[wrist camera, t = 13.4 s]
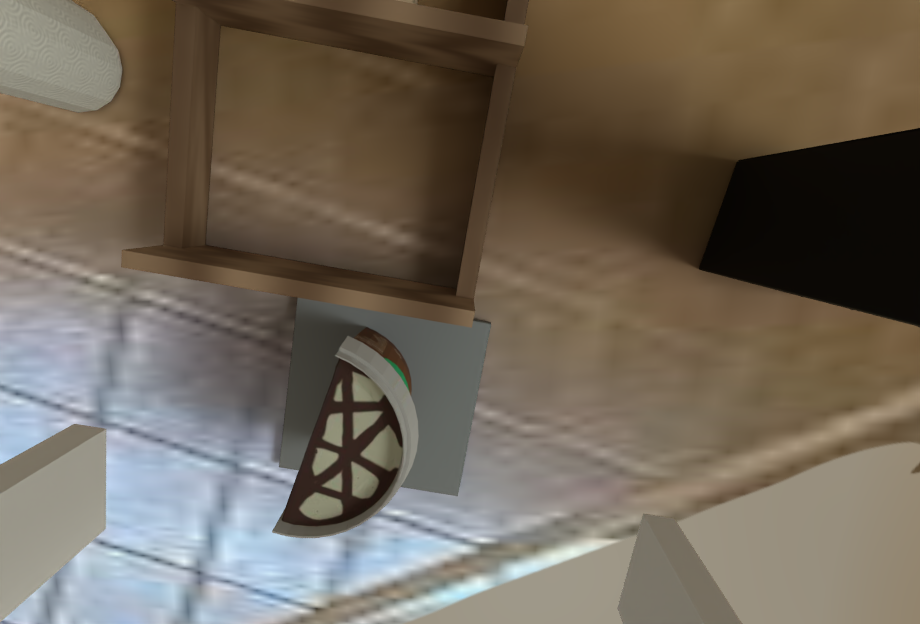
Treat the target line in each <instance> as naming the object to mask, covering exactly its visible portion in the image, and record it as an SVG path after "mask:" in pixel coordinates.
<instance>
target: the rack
mask: <svg viewBox="0 0 920 624" xmlns="http://www.w3.org/2000/svg"><path fill="white" fill-rule="evenodd" d="M172 1H174V2H175V3H176V14H175V33H174V53H173V72H172V91H171V110H170V129H169V149H168V168H167V187H166V206H165V225H164V245H160V246H152V247H143V248H135V249H126V250H122V263H121V267H123V268H129V269H135V270H141V271H147V272H152V273H158V274H164V275H170V276H175V277H181V278H187V279H193V280H199V281H204V282H210V283H216V284H222V285H228V286H233V287H239V288H245V289H251V290H256V291H262V292H268V293H274V294H280V295H285V296H291V297H297V298H303V299H309V300H314V301H320V302H326V303H332V304H338V305H343V306H349V307H355V308H361V309H366V310H372V311H378V312H384V313H390V314H395V315H401V316H407V317H413V318H419V319H424V320H430V321H436V322H442V323H447V324H453V325H459V326H465V327H471V328H472V325H473V319H474V314H475V307H474V294H475V289H476V283H477V278H478V272H479V267H480V262H481V256H482V251H483V245H484V240H485V235H486V229H487V224H488V218H489V213H490V207H491V202H492V197H493V191H494V186H495V180H496V175H497V170H498V164H499V159H500V153H501V148H502V142H503V137H504V132H505V126H506V121H507V115H508V110H509V105H510V99H511V94H512V88H513V83H514V77H515V72H516V67H517V64H518V62H519V59H520V56H521V54H522V51H523V48H524V45H525V40H526V35H527V29H528V25H524V23H525V18H526V13H527V7H528V2H529V0H507V5H506V11H505V17H504V21H502V20H497V19H491V18H486V17H481V16H476V15H471V14H465V13H460V12H455V11H450V10H444V9H439V8H434V7H429V6H424V5H418V4H413V3H408V2H403V1H398V0H172ZM221 26H226V27H232V28H237V29H242V30H247V31H253V32H258V33H263V34H269V35H274V36H279V37H285V38H290V39H295V40H301V41H306V42H311V43H317V44H322V45H327V46H332V47H338V48H343V49H348V50H354V51H359V52H364V53H370V54H375V55H380V56H386V57H391V58H396V59H401V60H407V61H412V62H417V63H423V64H428V65H433V66H439V67H444V68H449V69H455V70H460V71H465V72H471V73H476V74H481V75H486V76H492V77H494V79H493V85H492V90H491V96H490V102H489V107H488V113H487V119H486V124H485V130H484V136H483V141H482V147H481V153H480V158H479V164H478V170H477V175H476V181H475V187H474V192H473V198H472V204H471V209H470V215H469V221H468V226H467V232H466V238H465V243H464V249H463V254H462V260H461V266H460V271H459V277H458V283H457V288H456V289H454V288H448V287H442V286H437V285H431V284H425V283H419V282H414V281H408V280H402V279H397V278H391V277H385V276H379V275H374V274H368V273H362V272H357V271H351V270H345V269H339V268H334V267H328V266H322V265H317V264H311V263H305V262H299V261H294V260H288V259H282V258H277V257H271V256H265V255H259V254H254V253H248V252H242V251H237V250H231V249H225V248H219V247H214V246H208V245H205V243H206V229H207V214H208V200H209V185H210V171H211V157H212V142H213V128H214V113H215V99H216V85H217V70H218V56H219V41H220V27H221Z"/></svg>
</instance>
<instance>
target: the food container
mask: <svg viewBox="0 0 920 624" xmlns="http://www.w3.org/2000/svg"><path fill="white" fill-rule="evenodd" d="M335 356H336V357H338V358H339V360H338V363H337V365H336V367H335V372H334V375H333V378H332V381H331V383H330V386H329V389H328V392H327V394H326V397H325V400H324V402H323V405H322V408H321V411H320V414H319V416H318V419H317V422H316V424H315V427H314V430H313V432H312V435H311V437H310V440H309V443H308V446H307V449H306V452H305V455H304V457H303V460H302V463H301V466H300V469H299V472H298V474H297V477H296V480H295V483H294V485H293V488H292V491H291V494H290V497H289V499H288V502H287V505H286V508H285V510H284V512H283V513H282V515H281V517H280V519H279V520H278V522H277V524H276V526H275V528H274V529H273V531H272V532H273V533H277V534H280V535H284V536H290V537H298V538H320V537H326V536H333V535H336V534H339V533H342V532H346V531H348V530H350V529H352V528H354V527H356V526H359V525H361V524H362V523H363V522H365V521H367V520H368V519H369V518H371V517H372V516H374V515H375V514H377V513H378V512H379V511H380V510H381V509H382V508H383V507H385V506H386V505H387V504H388V503H389V501H390V500H391V499H392V497H393V496H394V495H395V494H396V492H397V491H398V489H399V488H400V487H401V485H402V484H403V482H404V481H405V479H406V477H407V475H408V473H409V471H410V469H411V467H412V465H413V462H414V459H415V455H416V452H417V445H418V437H419V435H418V419H417V415H416V410H415V405H414V403H413V400H412V398H411V392H412V384H411V376H410V372H409V368H408V366H407V363H406V361H405V359H404V358H403V356H402V354H401V353H400V351H399V350H398V349H397V348H396V347H395V345H394V344H393V343H392V342H390V341H389V340H388V339H387V338H386V337H385V336H383V335H381V334H380V333H378V332H377V331H375V330H372V329H370V328H368V327H365V328H364V329H363V330H362V331H361V332H360V333H359V334H357V335H356V336H355V337H354V338H351V337H349V336H347V338H346V339H345V341H344V342H343V343H342V345H341V346H340V349H339V351H338V352H337V354H336V355H335Z"/></svg>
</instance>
